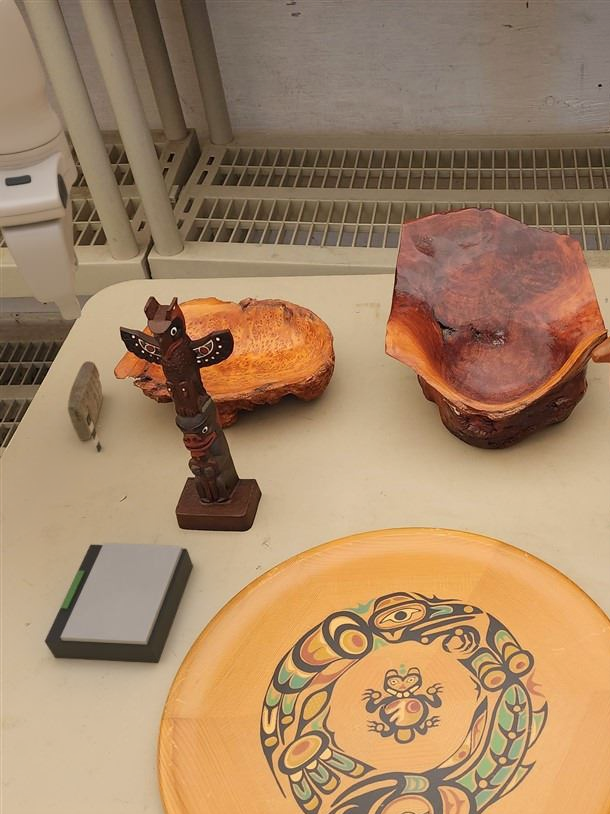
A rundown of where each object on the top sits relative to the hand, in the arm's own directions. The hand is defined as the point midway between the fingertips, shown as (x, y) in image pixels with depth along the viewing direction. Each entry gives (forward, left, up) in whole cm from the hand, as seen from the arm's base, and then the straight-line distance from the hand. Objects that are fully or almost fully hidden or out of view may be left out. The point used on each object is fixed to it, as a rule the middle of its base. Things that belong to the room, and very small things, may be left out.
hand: (72, 291), depth 91 cm
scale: (+6, -23, -25) cm, 34 cm away
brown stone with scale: (-8, +7, -25) cm, 28 cm away
